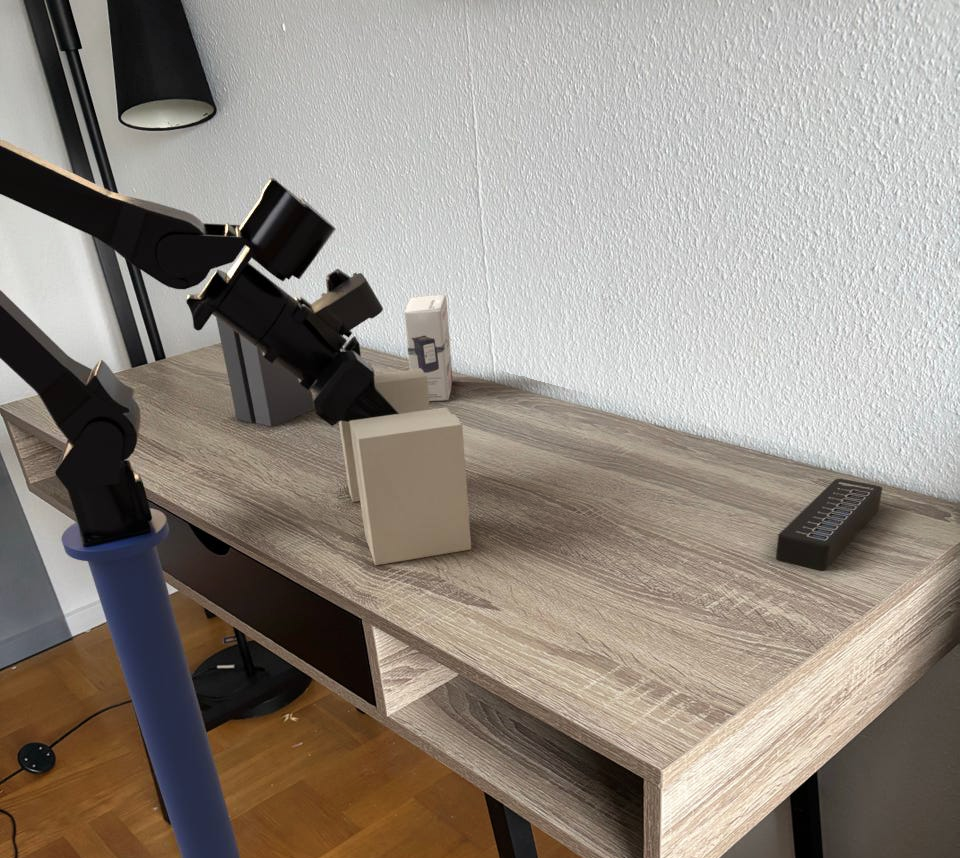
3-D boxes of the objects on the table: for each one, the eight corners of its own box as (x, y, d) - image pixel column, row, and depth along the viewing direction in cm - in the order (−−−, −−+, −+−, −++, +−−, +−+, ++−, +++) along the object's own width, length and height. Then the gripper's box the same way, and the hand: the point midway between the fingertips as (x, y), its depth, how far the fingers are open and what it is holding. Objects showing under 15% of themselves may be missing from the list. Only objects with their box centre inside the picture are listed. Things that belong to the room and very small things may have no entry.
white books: (375, 565, 86) (358, 438, 79) (365, 536, 91) (348, 415, 84) (471, 549, 87) (462, 424, 81) (456, 521, 92) (446, 401, 86)
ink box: (418, 383, 132) (409, 295, 125) (453, 381, 131) (446, 293, 125) (412, 402, 124) (402, 310, 118) (449, 401, 124) (442, 308, 118)
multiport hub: (773, 559, 82) (776, 535, 81) (833, 499, 91) (836, 477, 90) (824, 571, 80) (828, 546, 78) (879, 508, 89) (883, 486, 88)
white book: (352, 502, 98) (336, 388, 92) (349, 491, 100) (332, 379, 94) (437, 489, 99) (426, 376, 93) (431, 478, 102) (421, 368, 96)
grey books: (269, 427, 119) (250, 322, 113) (236, 419, 123) (215, 317, 116) (324, 405, 126) (309, 304, 119) (291, 398, 129) (274, 299, 122)
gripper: (333, 266, 78) (471, 380, 86) (312, 232, 94) (430, 332, 102) (255, 372, 81) (395, 473, 89) (247, 323, 97) (367, 413, 105)
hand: (399, 417), depth 96 cm, fingers open, 6 cm apart
